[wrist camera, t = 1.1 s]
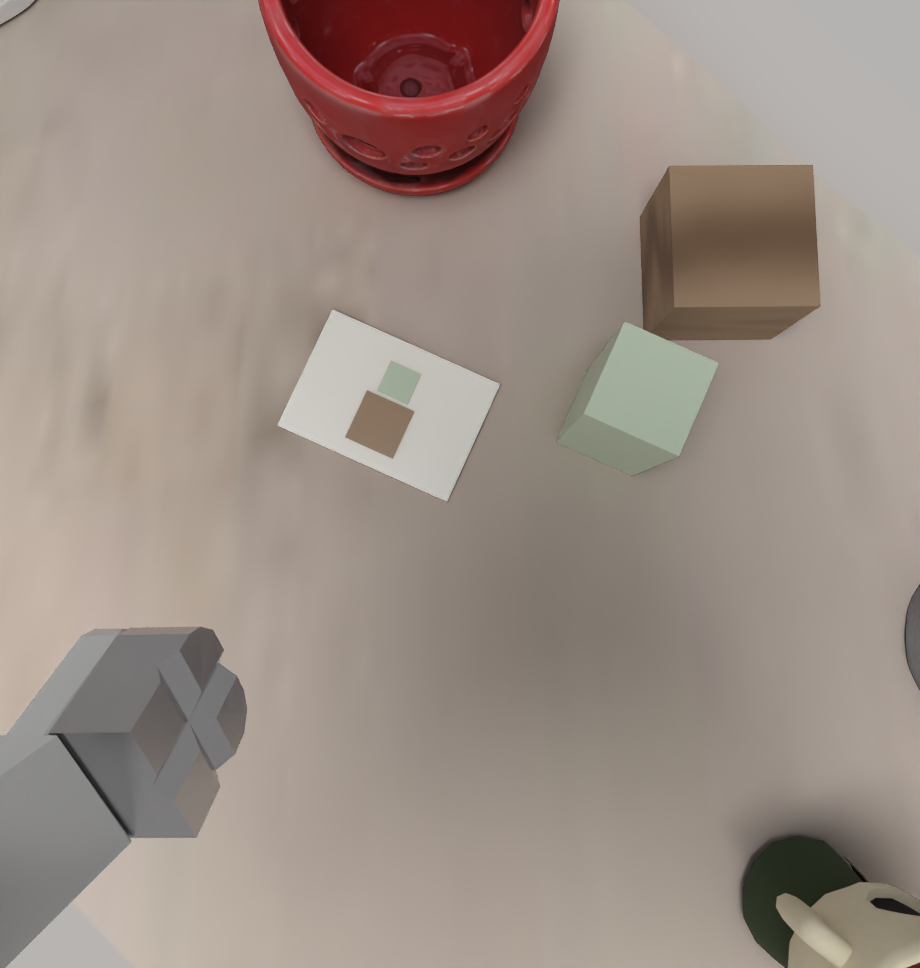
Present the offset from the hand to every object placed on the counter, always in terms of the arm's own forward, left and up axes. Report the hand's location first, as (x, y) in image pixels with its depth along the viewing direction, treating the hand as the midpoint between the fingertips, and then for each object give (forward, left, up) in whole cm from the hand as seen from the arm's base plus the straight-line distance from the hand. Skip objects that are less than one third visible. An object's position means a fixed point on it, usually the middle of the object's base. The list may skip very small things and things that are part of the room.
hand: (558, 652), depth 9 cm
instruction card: (-9, -4, -34) cm, 36 cm away
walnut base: (-16, +13, -34) cm, 40 cm away
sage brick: (-8, +8, -35) cm, 36 cm away
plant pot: (-26, -3, -35) cm, 43 cm away
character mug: (+17, +17, -35) cm, 42 cm away
